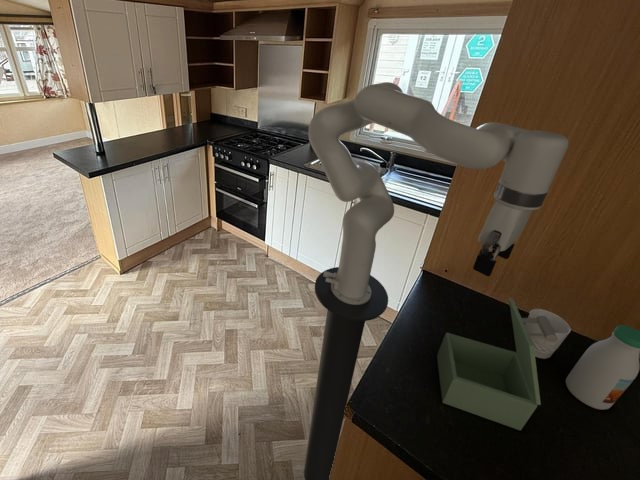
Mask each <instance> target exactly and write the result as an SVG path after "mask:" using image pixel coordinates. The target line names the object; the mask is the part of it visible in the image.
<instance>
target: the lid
mask: <svg viewBox="0 0 640 480" xmlns="http://www.w3.org/2000/svg"><path fill="white" fill-rule="evenodd" d="M508 302H509V308H510V316H511V322H512V330H513V331H512V332H513V337H514V343H515V344H514V345H515V352H516V353H517V354H518V357H519V360H520V362H521V365H522V368H523V370H524V373H525V376H526V378H527V381H528V384H529V386H530V389H531V392H532V394H533V397H534V400H535V402H536V404H537V406H541V405H542V404H541V395H540V394H541V393H540V387H539V379H538V378H539V377H538V370H537V361H536V357H535V351H534V345H533V343H532V341H531V339H546V340H547V341H549V342H556V341H557V340H558V338H557V336H556V334H555V332H554V330H553V328H552V327H551V325H550V323H549V321H548V319H547V318H546V317H545V316H538V317H536V318H528V317H522V315H521V313H520V311H519V309H518V306H517V304H516V302H515V299H514V298H511V297H510V298H508ZM525 323H538V325H539V327H540V329H541V331H542V333H543V334H537V333H528V332H527V329H526V327H525Z"/></svg>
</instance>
